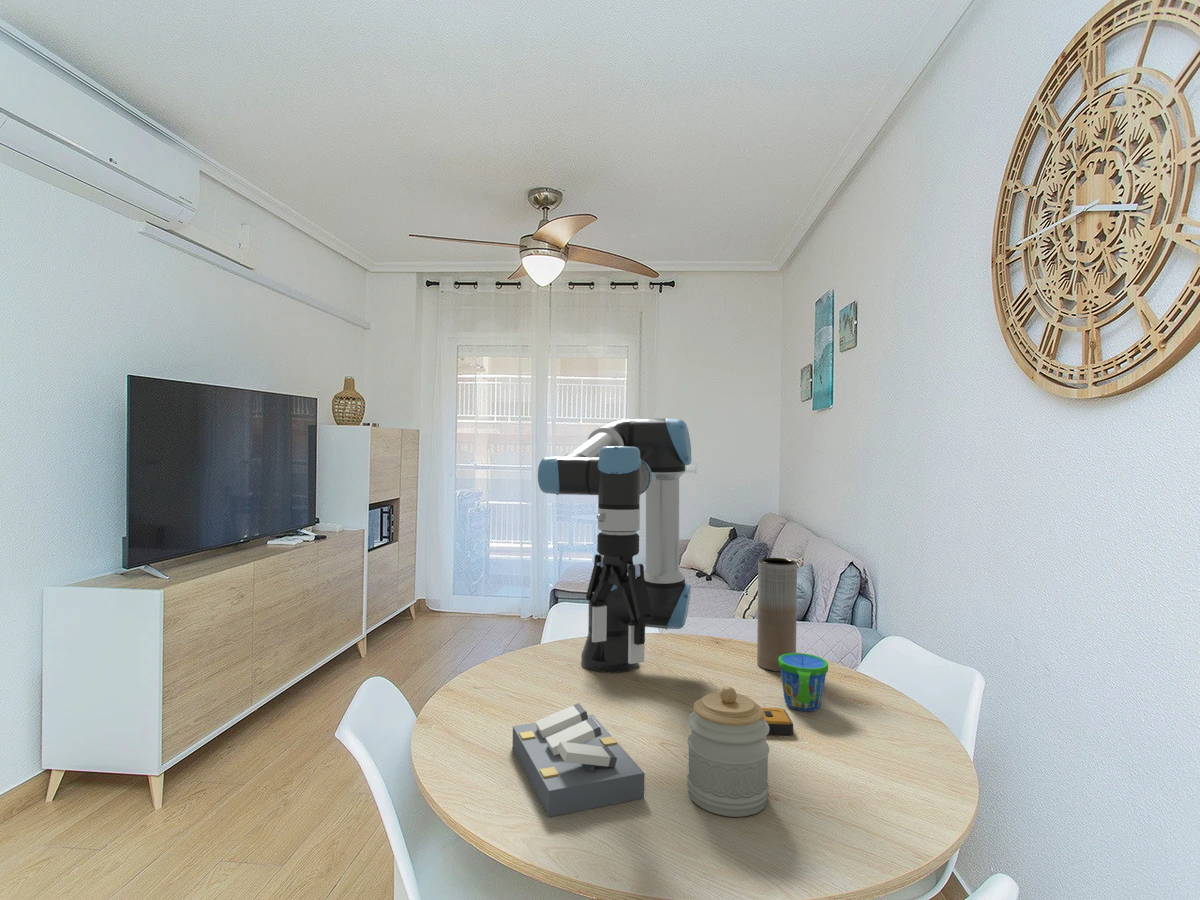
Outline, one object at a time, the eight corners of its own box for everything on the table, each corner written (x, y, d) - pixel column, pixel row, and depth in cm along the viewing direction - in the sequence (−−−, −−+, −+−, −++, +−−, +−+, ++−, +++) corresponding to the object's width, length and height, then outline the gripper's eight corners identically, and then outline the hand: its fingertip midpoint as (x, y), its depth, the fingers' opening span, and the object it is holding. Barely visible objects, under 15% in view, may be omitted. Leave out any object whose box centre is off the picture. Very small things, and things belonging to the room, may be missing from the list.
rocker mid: (547, 745, 109) (545, 737, 109) (594, 725, 112) (592, 717, 112) (554, 756, 106) (552, 747, 105) (602, 734, 109) (600, 726, 109)
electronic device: (794, 740, 123) (795, 723, 123) (714, 736, 124) (715, 719, 124) (784, 721, 132) (784, 705, 132) (709, 718, 132) (709, 702, 132)
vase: (755, 658, 171) (756, 557, 171) (792, 660, 169) (793, 558, 169) (759, 671, 161) (760, 563, 161) (799, 673, 159) (800, 564, 160)
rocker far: (536, 729, 116) (534, 721, 116) (581, 710, 119) (579, 702, 119) (542, 738, 112) (540, 730, 112) (588, 718, 115) (586, 710, 115)
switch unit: (512, 747, 117) (512, 720, 117) (592, 734, 123) (592, 709, 123) (548, 817, 95) (548, 784, 95) (644, 797, 101) (644, 766, 101)
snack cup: (826, 724, 129) (827, 674, 130) (774, 715, 133) (774, 667, 133) (828, 697, 144) (829, 653, 144) (781, 690, 148) (781, 647, 148)
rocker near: (557, 750, 103) (559, 741, 103) (606, 756, 106) (608, 747, 106) (564, 761, 99) (567, 752, 99) (615, 767, 102) (617, 758, 102)
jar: (767, 781, 106) (768, 677, 106) (770, 824, 94) (771, 706, 94) (690, 771, 109) (691, 670, 109) (683, 812, 97) (684, 698, 97)
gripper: (570, 525, 121) (568, 635, 121) (636, 541, 99) (634, 676, 99) (604, 524, 125) (602, 631, 124) (675, 539, 103) (673, 669, 102)
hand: (616, 651), depth 112 cm, fingers open, 13 cm apart
